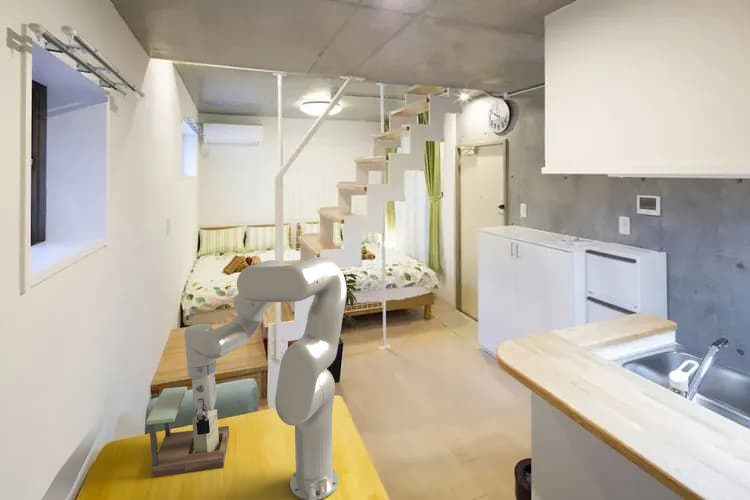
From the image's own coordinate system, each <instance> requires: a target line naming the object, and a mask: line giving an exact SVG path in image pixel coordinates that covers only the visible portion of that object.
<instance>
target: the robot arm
mask: <svg viewBox="0 0 750 500" xmlns="http://www.w3.org/2000/svg"><path fill="white" fill-rule="evenodd" d="M236 289H237V292H238V293H237V294H236V296H235V297H234V299H233V308H234V309H235V311H236V312H237V313H238V314H236V315H235V317H234V318H233V319H232V320H231V321H230V322H227V323H225V324H224V325H221V326H219V327H217V328H215V329H214V328H213V326H212V325H211V324H208V323H197V324H196V323H195V324H192V325H189V326H188V327H186V329H185V330H184V344H185V357H186V359H185V360H186V369H187V377H188V378H190V379H191V383H192V385H191V386H192V387H191V388H192V389H191V390H192V401H193V402H192V403H193V410H194V412H195V413H196V415H197V419H196V424H197V434H198V435H202V434H209V433H210V426H209V419H208V411H209V410H210V411H212V410H213V409H215V405H216V401H217V397H218V396H217V395H218V393H217V385H216V377H215V374H216V373H217V362H216V361H217V359H219V358H222V357H224V356H226V355H227V354H229V353H231V352H233V351H235V350H237V349H238V348H240V347H242V346H244V345H245V344H246V343H247V342H248V341H250V339H251V338H252V337H253V335H254V334H256V332H257V331H258V329H259V328H260V327H261V324H262V322H263V317H264V314H265V313H266V312H267V311H268V310H269V308H270V307H271V306H272V305H273V303H296V302H301V301H303V300H306V299H308V298H310V297H312V296H313V298H312V299H313V300H312V302H311V305H310V306H309V309H308V313H307V319H306V324H305V325H306V326H305V330H304V333H303V335H302V337H300V338H299V339H298V340H296V341H295V342H293V343H292V344H290V345H289V346H288V347H287V348H286V349H285V352H284V353H283V355H282V357H281V360H280V364H279V371H278V378H277V382H276V383H277V385H276V390H275V398H274V405H275V411H276V413H277V416H278V417H279V419H280V420H281V422H283V423H285V424H286V425H288V426H294V445H295V447H294V449H295V472H294V473H293V474H292V475H291V477H290V480H289V487H290V490H291V492H292V494H293V495H294V496H296V497H297V498H298V499H301V500H321V499H325V498H326V497H328V496H330V495H331V494H332V493H334V492H335V491H336V489H337V488H338V486H339V474H338V472H337V471H336V469H334V468H333V406H334V402H335V401H334V400H335V393H336V383H335V379H334V377H333V374H332V373H331V371H329V369H328V368H329V367H330V366H331V365H332V364H333V362H334V361H335V360H336V357H337V354H338V349H339V342H340V336H341V331H342V324H343V318H344V312H345V307H346V304H347V303H346V302H347V296H348V295H347V292H348V291H347V282H346V278H345V276H344V274H343V272H342V270H341V268H340V267H339V266H338V265H337V264H336V263H335V262H334V261H333V260H331V259H329V258H325V257H321V256H320V257H317V256H316V257H315V256H314V257H310V258H306V259H304V260H302V261H298V262H295V263H292V264H287V265H286V264H285V263H284V262H282V261H279V260H274V259H272V260H271V259H269V260H266V261H262V262H258V263H255V264H251V265H248V266H246V267H245V268H243V269H242V270H241V271H240V273H239V275H238V277H237V280H236ZM204 408H206V409H204ZM203 412H205V415H203Z"/></svg>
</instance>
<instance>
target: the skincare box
mask: <svg viewBox="0 0 750 500" xmlns="http://www.w3.org/2000/svg"><path fill="white" fill-rule="evenodd" d="M204 409H206V408H204ZM203 415H205V412H203ZM196 419H197V414H196V415H195V416H194V417H192V430H193V437H194V447H193V450H194V454H196V453H203V452H210V451H218V450H219V449H220V443H219V435H218V427H219V423H218V422H219V421H218V409H215V408H214V409H213V410H212V411H210V410H209V411H208V419H209V426H210V433H209V434H202V435H198V434H197V424H196Z"/></svg>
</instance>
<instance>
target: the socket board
mask: <svg viewBox="0 0 750 500" xmlns="http://www.w3.org/2000/svg"><path fill="white" fill-rule="evenodd" d="M187 391H188V386H178V387H167V388H163V389H162V391H161V393H160V395H159V396H158V398H157V400H156V402H155V404H154V405H153V407H152V410H151V411H150V413H149V415H148V417H147V419H146V421H145V422H146V424H145V425H148V426H149V437H150V440H149V441H150V451H151V452H150V453H151V463H152V465H151V468H150V469H151V470H150V471H151V478H152V479H155V478H162V477H163V478H164V477H168V476H169V477H171V476H177V475H182V474H183V475H184V474H190V473H197V472H203V471H211V470H216V469H217V470H218V469H224V466H225V461H226V454H227V449H228V448H227V447H228V442H229V436H230V426H229V425H224V426H218V435H219V444H220V445H219V449H217V450H216V451H210V452H203V453H196V454H195V453H192V452H193V450H194V437H193V429H191V430H183V431H176V432H175V431H174V432H171V431H172V430H171V422H173V423H174V422H175V420H176V417H177V415H178V413H179V409H180V408H181V405H182V403H183V400H184V399H185V396H186V393H187ZM163 423H164V432H165V433H164V434H165V435H164V437H163V439H162V442H161V445H160V446H159V449H158V439H157V426H156V425H158V424H163Z"/></svg>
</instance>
